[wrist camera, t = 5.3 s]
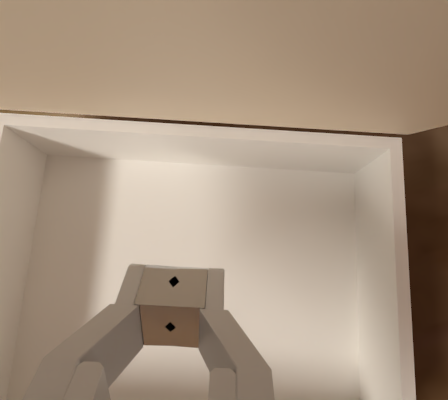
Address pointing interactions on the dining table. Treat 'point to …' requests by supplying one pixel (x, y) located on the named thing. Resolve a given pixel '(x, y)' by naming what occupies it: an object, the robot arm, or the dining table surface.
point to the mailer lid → (231, 61)
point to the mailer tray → (210, 248)
